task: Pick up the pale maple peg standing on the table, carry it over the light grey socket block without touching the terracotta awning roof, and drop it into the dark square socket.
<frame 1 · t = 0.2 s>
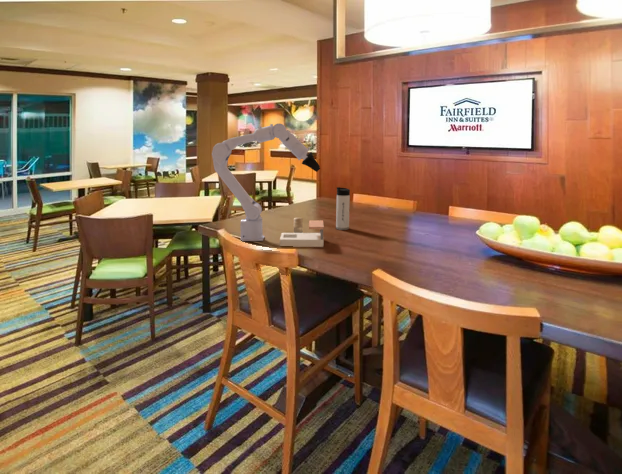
hand: (318, 169, 181), 31 cm above the table, tool tilted 45°, fingers open, 7 cm apart
peg: (298, 235, 194), on the table
travel mug: (342, 229, 209), on the table
socket block: (301, 242, 182), on the table
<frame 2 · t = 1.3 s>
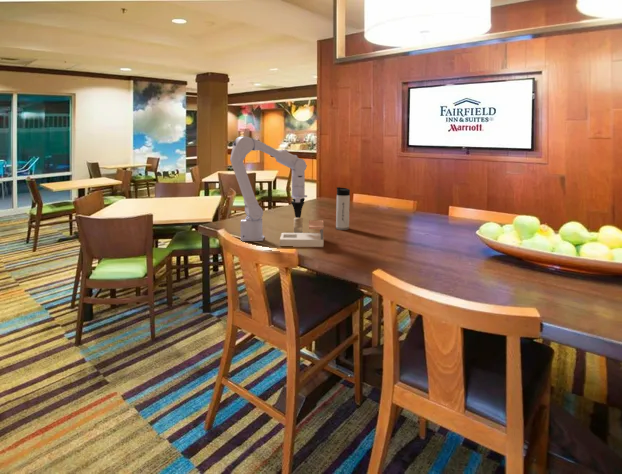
hand: (298, 215, 192), 9 cm above the table, tool pointing down, fingers open, 7 cm apart
nothing on the table moved.
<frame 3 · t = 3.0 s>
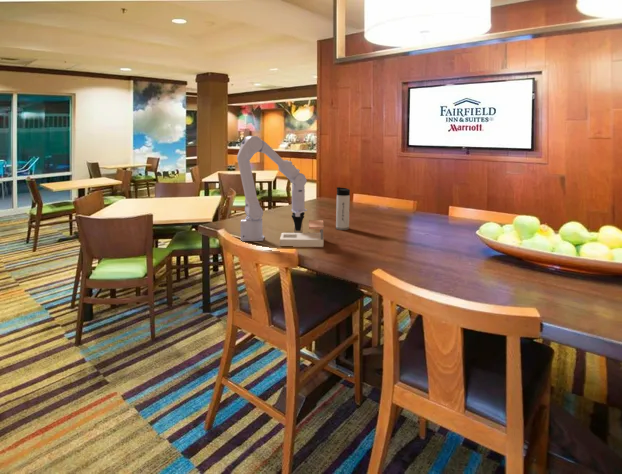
hand: (298, 229, 194), 3 cm above the table, tool pointing down, fingers closed on peg, 4 cm apart
peg: (298, 235, 194), on the table, touching gripper
everything else where it was.
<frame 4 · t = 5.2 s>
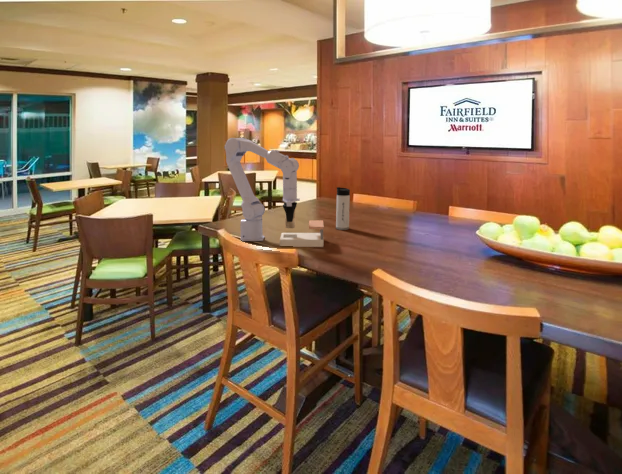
hand: (290, 220, 179), 10 cm above the table, tool pointing down, fingers closed on peg, 4 cm apart
peg: (290, 227, 180), point 7 cm above the table, touching gripper
everything else where it was.
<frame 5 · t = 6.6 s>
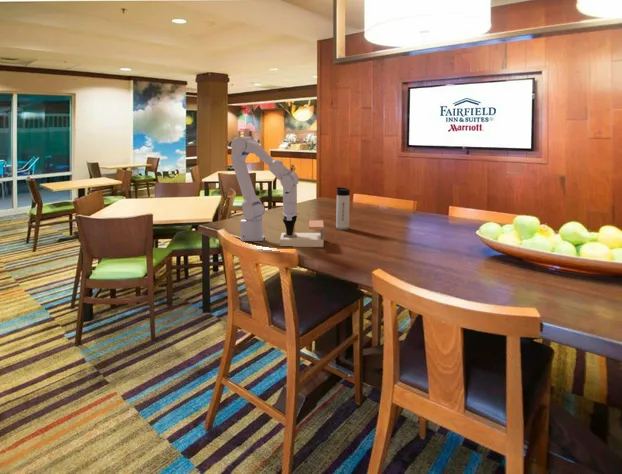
hand: (290, 233, 181), 4 cm above the table, tool pointing down, fingers closed on peg, 4 cm apart
peg: (290, 240, 182), point 1 cm above the table, touching gripper
everything else where it was.
when the fingers open (4 cm above the table, at t = 7.6 s): peg stays where it is, resting on socket block.
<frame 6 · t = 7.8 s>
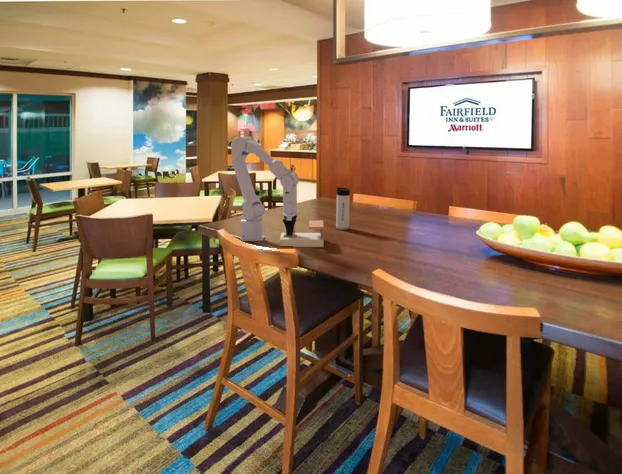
hand: (290, 233, 181), 4 cm above the table, tool pointing down, fingers open, 6 cm apart
peg: (290, 241, 182), resting on socket block
everything else where it was.
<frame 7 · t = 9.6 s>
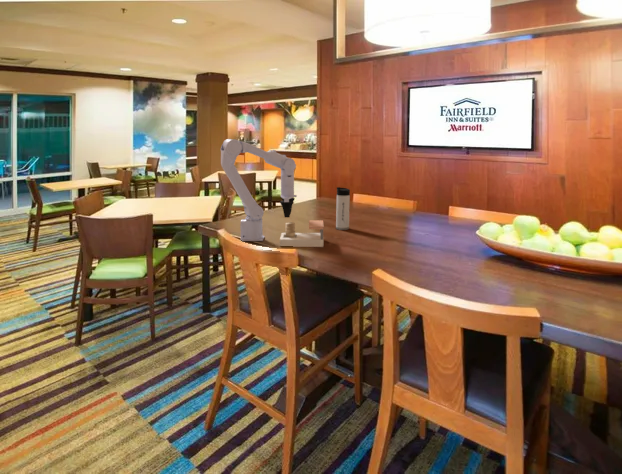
hand: (287, 215, 191), 9 cm above the table, tool pointing down, fingers open, 7 cm apart
nothing on the table moved.
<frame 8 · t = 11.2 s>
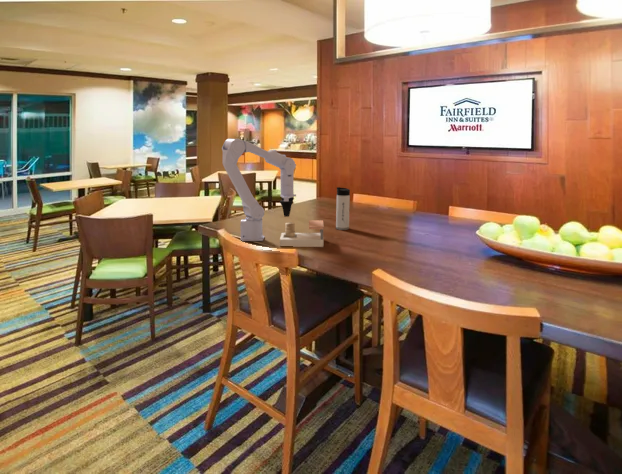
hand: (287, 214, 193), 9 cm above the table, tool pointing down, fingers open, 7 cm apart
nothing on the table moved.
at the end: peg 0.1 cm from the target spot on the socket block, point 0.4 cm above the socket block's base; peg tilted 1°; the gripper is holding nothing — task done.
